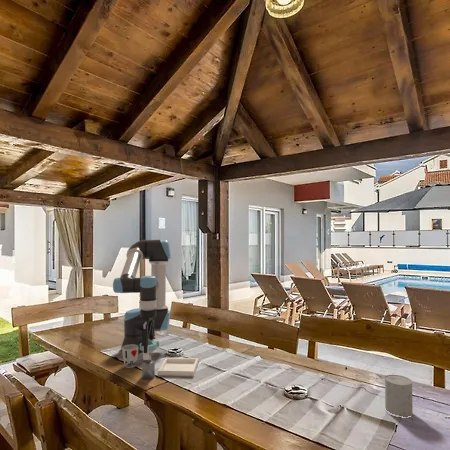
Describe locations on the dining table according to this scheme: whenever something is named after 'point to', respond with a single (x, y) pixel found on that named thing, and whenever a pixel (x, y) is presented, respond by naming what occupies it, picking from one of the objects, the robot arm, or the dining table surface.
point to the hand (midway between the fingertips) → (148, 356)
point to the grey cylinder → (398, 395)
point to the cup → (130, 355)
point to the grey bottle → (148, 369)
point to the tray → (178, 367)
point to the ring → (151, 345)
